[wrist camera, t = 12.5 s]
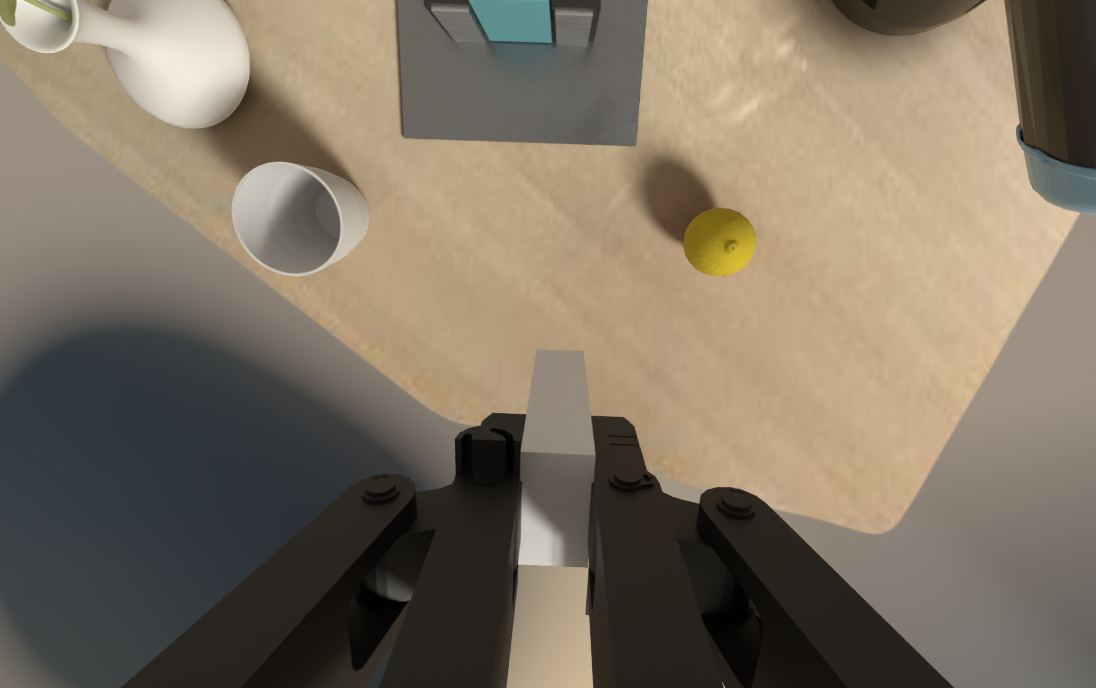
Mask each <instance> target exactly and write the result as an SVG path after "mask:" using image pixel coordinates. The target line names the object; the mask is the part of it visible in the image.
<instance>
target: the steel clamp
mask: <svg viewBox="0 0 1096 688" xmlns="http://www.w3.org/2000/svg"><path fill="white" fill-rule="evenodd" d="M397 2H398V23H399V45H400V66H401V87H402V109H403V130H404V138H411V139H440V140H469V141H497V142H526V143H555V144H584V145H613V146H636V141H637V128H638V116H639V103H640V91H641V78H642V66H643V53H644V41H645V28H646V16H647V3H648V0H552V10H553V17H552V43H545V42H513V41H490V40H489V38H488V36H487V34H486V32H485V30H484V29H483V27H482V25H481V23H480V21H479V19H478V17H477V15H476V13H475V11H474V10H473V8H472V6H471V4H470V2H469V0H397Z"/></svg>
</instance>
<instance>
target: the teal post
mask: <svg viewBox="0 0 1096 688" xmlns="http://www.w3.org/2000/svg"><path fill="white" fill-rule="evenodd" d="M469 2H470V4H471V6H472V8H473V10H474V11H475V13H476V15H477V17H478V19H479V21H480V23H481V25H482V27H483V29H484V30H485V32H486V34H487V36H488V38H489V40H490V41H513V42H545V43H552V17H553V10H552V0H469Z"/></svg>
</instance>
